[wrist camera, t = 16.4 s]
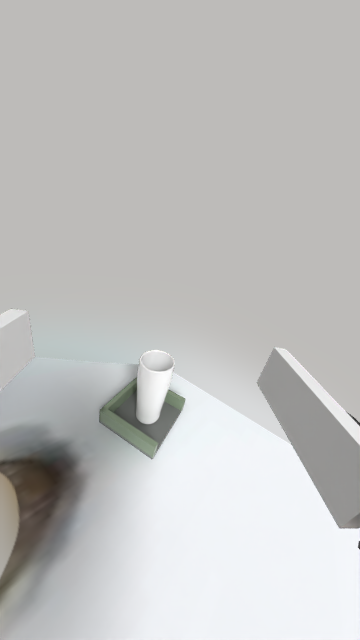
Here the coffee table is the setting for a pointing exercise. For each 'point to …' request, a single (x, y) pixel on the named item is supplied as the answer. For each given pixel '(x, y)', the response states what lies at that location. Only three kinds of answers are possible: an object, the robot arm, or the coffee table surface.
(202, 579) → the coffee table surface
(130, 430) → the tray
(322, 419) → the robot arm
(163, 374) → the drinking glass
